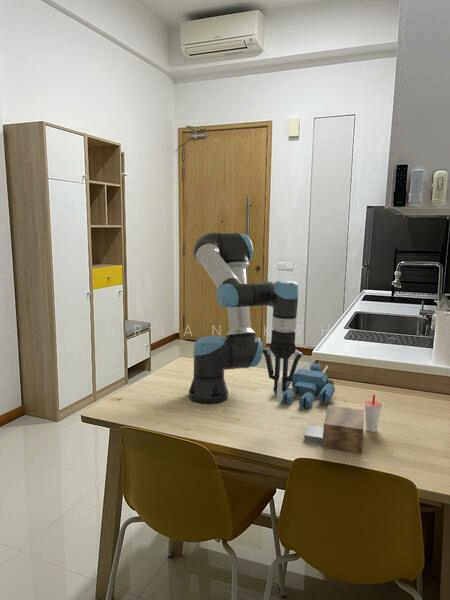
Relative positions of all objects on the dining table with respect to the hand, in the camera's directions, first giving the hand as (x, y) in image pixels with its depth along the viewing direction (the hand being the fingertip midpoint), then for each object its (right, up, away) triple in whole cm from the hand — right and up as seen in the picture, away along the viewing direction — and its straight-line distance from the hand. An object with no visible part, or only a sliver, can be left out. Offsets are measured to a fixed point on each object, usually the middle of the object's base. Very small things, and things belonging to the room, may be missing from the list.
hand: (279, 399), depth 148 cm
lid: (+14, -11, -7) cm, 19 cm away
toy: (+14, -6, +31) cm, 35 cm away
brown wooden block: (+18, -11, -7) cm, 22 cm away
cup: (+30, -10, 0) cm, 32 cm away
